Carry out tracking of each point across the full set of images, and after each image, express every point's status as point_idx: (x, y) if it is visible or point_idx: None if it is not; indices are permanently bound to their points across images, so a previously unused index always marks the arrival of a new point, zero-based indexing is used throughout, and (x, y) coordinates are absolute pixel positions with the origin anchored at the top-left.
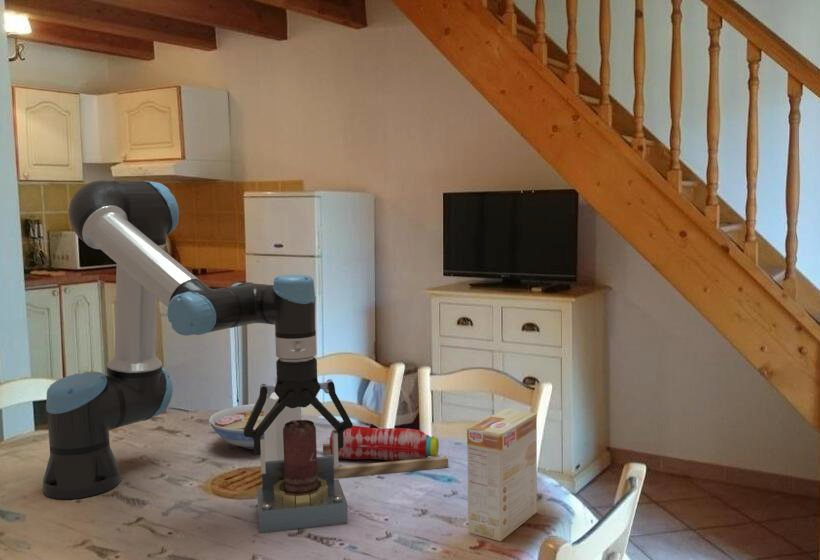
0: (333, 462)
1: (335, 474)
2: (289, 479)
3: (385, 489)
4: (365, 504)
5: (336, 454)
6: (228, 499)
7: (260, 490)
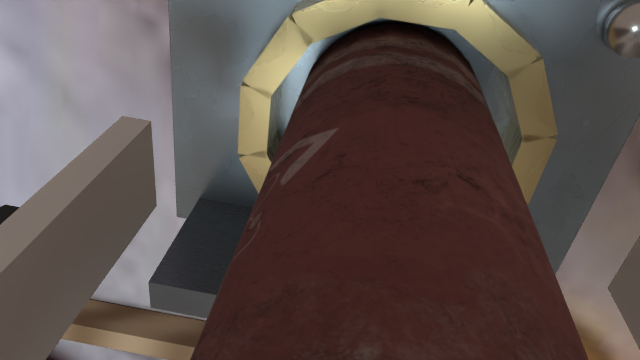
0: (148, 178)
1: (189, 330)
2: (491, 117)
3: (24, 173)
4: (107, 73)
5: (84, 166)
6: (596, 323)
7: (553, 247)
